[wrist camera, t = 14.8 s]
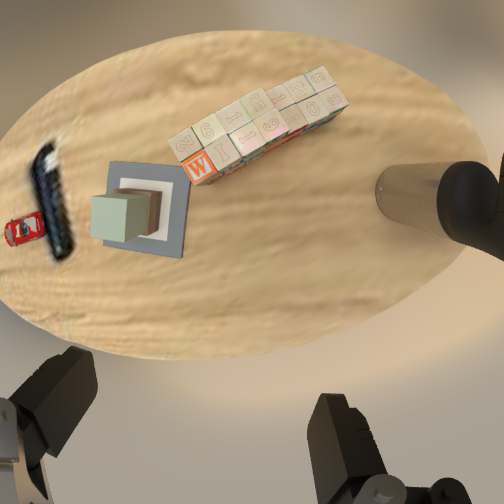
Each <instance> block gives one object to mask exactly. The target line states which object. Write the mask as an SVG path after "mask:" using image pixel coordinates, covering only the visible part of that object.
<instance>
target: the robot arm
mask: <svg viewBox="0 0 504 504" xmlns="http://www.w3.org/2000/svg"><path fill="white" fill-rule="evenodd" d="M376 199H377V203H378V206H379V208H380V209H381V211H382V212H383V213H384V215H386V216H387V217H388V218H390V219H392V220H394V221H397V222H401V223H403V224H406V225H410V226H413V227H416V228H419V229H422V230H425V231H427V232H430V233H433V234H436V235H439V236H442V237H445V238H448V239H451V240H453V241H456V242H459V243H462V244H465V245H468V246H471V247H474V248H476V249H479V250H482V251H484V252H486V253H489V254H490V255H492V256H495V257H497V258H498V259H500V260H502V261H504V154H503V157H502V162H501V168H500V178H499V183H498V181H497V179H496V178H495V176H494V174H493V173H492V172H491V171H490V170H489V169H488V168H487V167H486V166H485V165H483V164H481V163H478V162H474V161H460V162H442V163H424V164H408V165H396V166H392V167H390V168H387V169H386V170H385V171H384V172H383V173H382V174H381V176H380V177H379V179H378V182H377V186H376ZM97 389H98V383H97V378H96V372H95V367H94V360H93V355H92V353H91V352H90V351H87V350H84V349H81V348H78V347H75V346H70V347H69V348H68V349H67V350H66V351H65V352H64V353H63V354H62V355H59V354H58V355H56V356H54V357H52V358H49V359H47V360H46V361H45V362H44V363H43V364H42V365H41V366H40V367H39V370H38V369H37V370H36V371H35V372H34V373H33V375H32V376H30V377H29V378H28V379H27V380H26V381H25V382H24V383H23V384H22V385H21V386H20V387H19V388H18V389H17V390H16V391H15V392H14V393H13V395H12V396H11V397H10V398H9V399H5V398H0V504H54V502H53V499H52V495H51V491H50V488H49V484H48V480H47V475H46V470H45V465H44V461H43V459H42V457H43V455H44V454H45V452H46V453H48V454H49V455H51V456H53V457H55V458H57V456H58V455H59V453H60V452H61V450H62V448H63V447H64V445H65V444H66V442H67V440H68V439H69V437H70V436H71V434H72V432H73V431H74V429H75V428H76V426H77V425H78V423H79V421H80V420H81V419H82V417H83V416H84V414H85V412H86V411H87V409H88V408H89V406H90V405H91V403H92V402H93V400H94V399H95V397H96V394H97ZM307 440H308V445H309V451H310V457H311V462H312V469H313V475H314V481H315V488H316V494H317V500H318V504H472V503H471V500H470V498H469V496H468V494H467V491H466V489H465V487H464V486H463V484H462V483H461V482H459V481H458V480H456V479H453V478H442V479H440V480H438V481H437V482H436V483H434V484H433V486H431V487H430V488H427V487H406V486H405V485H404V483H403V482H402V481H401V480H400V479H398V478H397V477H395V476H392V475H388V473H387V471H386V468H385V466H384V463H383V460H382V458H381V455H380V453H379V450H378V448H377V445H376V443H375V440H373V435H372V433H371V431H370V428H369V425H368V423H367V420H366V418H365V417H364V416H363V415H362V413H361V412H360V411H359V410H358V409H357V408H349V405H348V403H347V400H346V397H345V395H344V394H331V393H322V394H321V395H320V397H319V399H318V402H317V404H316V406H315V409H314V411H313V414H312V416H311V419H310V421H309V424H308V429H307Z"/></svg>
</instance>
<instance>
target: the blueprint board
mask: <svg viewBox="0 0 504 504" xmlns="http://www.w3.org/2000/svg"><path fill="white" fill-rule="evenodd" d="M190 186H191V180H190V179H189V177H188V175H187V174H186V172H185V170H184V168H183V167H178V166H168V165H156V164H144V163H129V162H111V161H110V164H109V172H108V181H107V191H106V194H115V193H120V194H131V195H141V196H149V198H148V209H147V221H146V232H145V233H143V234H141V235H139V236H137V237H135V238H133V239H131V240H129V241H127V242H125V243H124V242H117V241H111V240H104V239H103V246H107V247H113V248H119V249H124V250H130V251H136V252H142V253H148V254H154V255H160V256H166V257H172V258H178V259H181V258H182V256H183V246H184V236H185V226H186V217H187V209H188V201H189V193H190Z"/></svg>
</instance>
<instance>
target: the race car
mask: <svg viewBox="0 0 504 504" xmlns="http://www.w3.org/2000/svg"><path fill="white" fill-rule="evenodd" d="M45 233H46V228H45V221H44V217H43V214H42V213H41V212H34V213H31V214H28V215H26V216H23V217H21V218H18V219H16V220H13V221H12V220H11V222H8V223H7V224H6V226H5V239H6V241H7V243H8V244H9V245H10V246H11V247H13V246H15V245H16V246H17V245H18V244H22V243H25V242H28V241H31V240H35V239H38V238H40V237H43V236H44V235H45Z"/></svg>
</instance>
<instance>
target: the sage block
mask: <svg viewBox="0 0 504 504" xmlns="http://www.w3.org/2000/svg"><path fill="white" fill-rule="evenodd" d="M148 198H149V196H141V195H131V194H120V193H115V194H106V195H98V196H92V200H91V218H90V237H92V238H98V239H104V240H111V241H117V242H124V243H125V242H127V241H129V240H131V239H133V238H135V237H137V236H139V235H141V234H143V233H145V232H146V221H147V209H148Z"/></svg>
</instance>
